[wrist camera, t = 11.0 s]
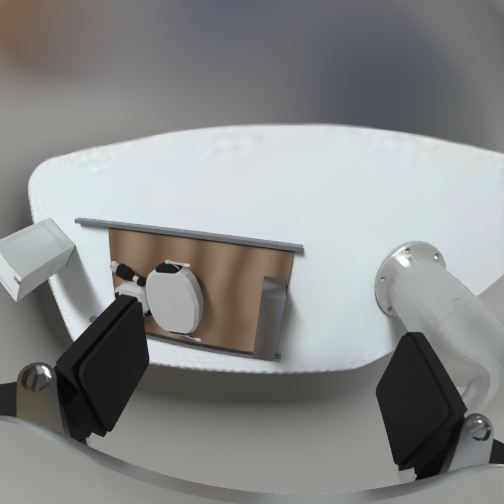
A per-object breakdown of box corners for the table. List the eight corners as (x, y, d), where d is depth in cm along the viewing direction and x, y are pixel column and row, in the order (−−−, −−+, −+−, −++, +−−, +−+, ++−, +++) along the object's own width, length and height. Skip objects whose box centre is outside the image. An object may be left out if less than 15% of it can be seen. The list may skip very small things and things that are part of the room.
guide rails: (302, 245, 37) (303, 247, 36) (280, 357, 44) (279, 362, 43) (78, 217, 39) (74, 219, 38) (93, 318, 46) (89, 321, 45)
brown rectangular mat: (293, 251, 37) (295, 270, 31) (274, 352, 43) (272, 380, 37) (110, 227, 39) (85, 240, 33) (120, 322, 45) (103, 343, 39)
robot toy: (132, 316, 45) (211, 327, 42) (119, 330, 40) (202, 345, 38) (117, 251, 40) (203, 254, 38) (101, 261, 36) (191, 266, 34)
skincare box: (42, 238, 41) (-12, 267, 27) (51, 215, 39) (-9, 240, 25) (67, 267, 43) (15, 304, 29) (78, 245, 41) (19, 281, 27)
